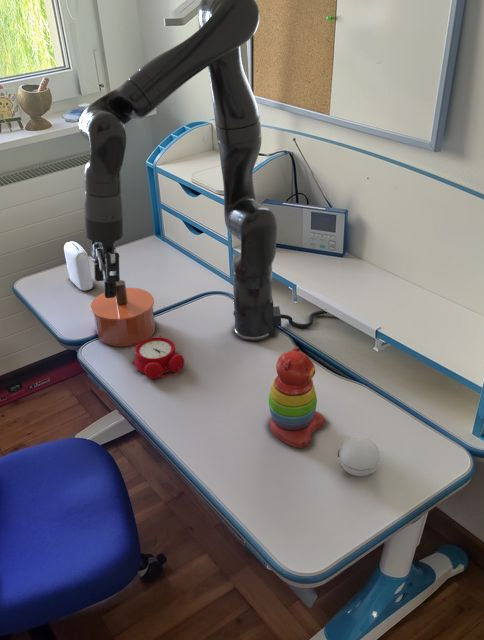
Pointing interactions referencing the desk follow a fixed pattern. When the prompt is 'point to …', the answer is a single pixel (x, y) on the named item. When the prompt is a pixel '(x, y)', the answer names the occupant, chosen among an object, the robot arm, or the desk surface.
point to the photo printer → (78, 265)
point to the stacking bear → (294, 400)
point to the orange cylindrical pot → (126, 330)
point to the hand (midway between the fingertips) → (105, 288)
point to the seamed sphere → (359, 455)
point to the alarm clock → (157, 357)
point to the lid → (122, 304)
